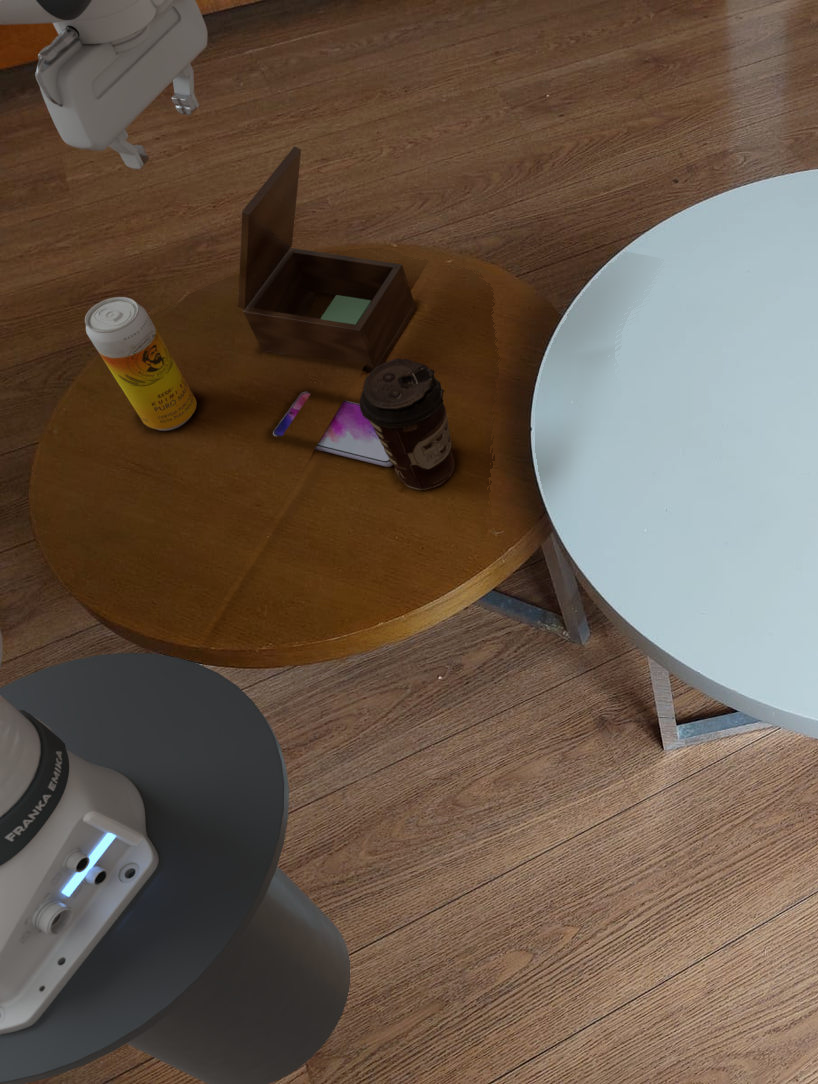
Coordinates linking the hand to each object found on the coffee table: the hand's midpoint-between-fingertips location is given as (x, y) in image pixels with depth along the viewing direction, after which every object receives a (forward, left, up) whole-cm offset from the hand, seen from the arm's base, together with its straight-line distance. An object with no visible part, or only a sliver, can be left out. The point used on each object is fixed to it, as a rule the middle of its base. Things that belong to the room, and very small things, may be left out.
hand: (164, 137), depth 111 cm
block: (+2, -14, -24) cm, 28 cm away
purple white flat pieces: (-12, -17, -27) cm, 34 cm away
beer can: (-14, +4, -27) cm, 31 cm away
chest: (+3, -9, -27) cm, 29 cm away
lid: (+3, -5, -13) cm, 14 cm away
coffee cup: (-15, -28, -27) cm, 42 cm away
